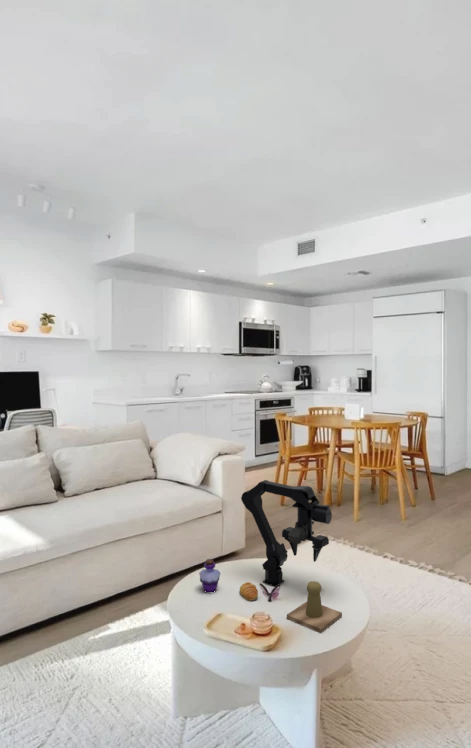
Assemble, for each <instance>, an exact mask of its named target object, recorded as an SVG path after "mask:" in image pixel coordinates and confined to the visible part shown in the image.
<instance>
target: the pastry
mask: <svg viewBox="0 0 471 748" xmlns="http://www.w3.org/2000/svg"><path fill="white" fill-rule="evenodd" d="M258 593H259V590H258V589H257V586H256V585H255V584H253V583H252V582H249V581H248V582H247V581H246V582H245V583H242V584H241V585H240V587H239V594H240V596H241V597H242V598H244V600H246V601H249V602H251V601H256V600H257V599H258V595H259V594H258Z"/></svg>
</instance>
